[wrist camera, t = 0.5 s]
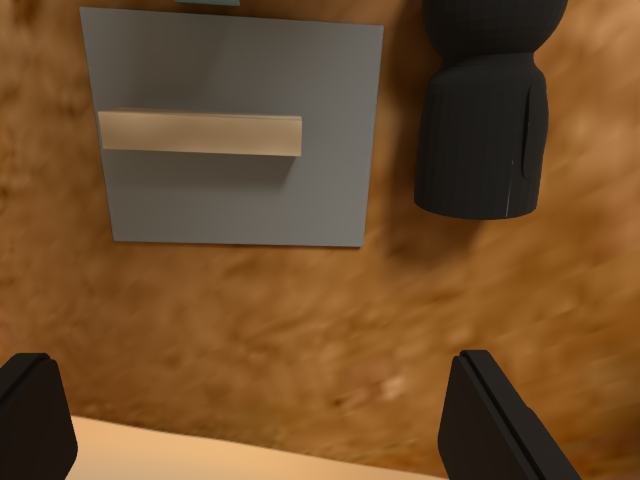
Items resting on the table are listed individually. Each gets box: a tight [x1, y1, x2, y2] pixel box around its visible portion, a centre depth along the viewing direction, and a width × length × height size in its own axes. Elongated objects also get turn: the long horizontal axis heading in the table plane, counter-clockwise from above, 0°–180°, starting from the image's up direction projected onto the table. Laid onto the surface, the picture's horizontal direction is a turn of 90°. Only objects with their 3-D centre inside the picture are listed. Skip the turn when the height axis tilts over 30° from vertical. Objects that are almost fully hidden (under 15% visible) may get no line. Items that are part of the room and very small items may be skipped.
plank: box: [98, 107, 302, 156], centre depth 31 cm, size 2×14×4 cm, turn 87°
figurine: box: [414, 0, 568, 220], centre depth 29 cm, size 9×9×20 cm
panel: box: [79, 7, 384, 247], centre depth 34 cm, size 18×22×1 cm
